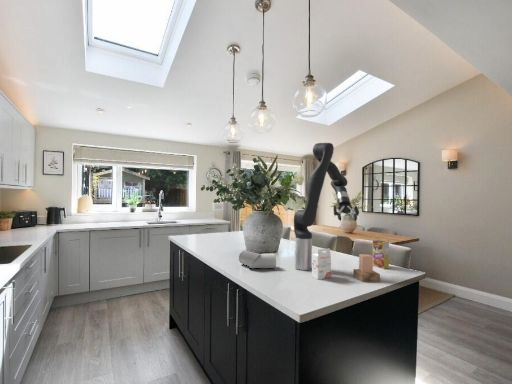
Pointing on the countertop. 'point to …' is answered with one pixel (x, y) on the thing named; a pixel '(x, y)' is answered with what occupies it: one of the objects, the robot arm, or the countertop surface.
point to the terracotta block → (366, 263)
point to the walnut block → (366, 276)
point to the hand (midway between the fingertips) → (348, 219)
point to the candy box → (381, 254)
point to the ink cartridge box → (321, 264)
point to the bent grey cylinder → (257, 260)
